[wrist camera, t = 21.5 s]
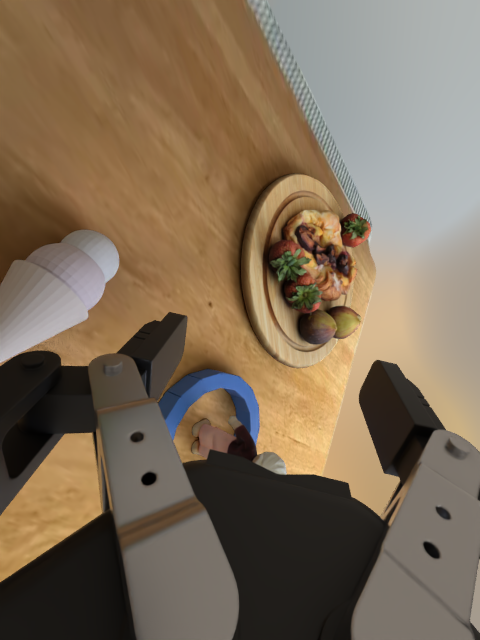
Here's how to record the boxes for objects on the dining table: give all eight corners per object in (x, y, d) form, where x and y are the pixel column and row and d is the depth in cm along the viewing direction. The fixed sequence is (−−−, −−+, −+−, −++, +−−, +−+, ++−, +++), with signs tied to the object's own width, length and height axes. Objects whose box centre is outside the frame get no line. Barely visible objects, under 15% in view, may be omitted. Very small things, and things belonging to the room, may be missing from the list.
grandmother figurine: (215, 454, 38) (296, 501, 29) (191, 468, 35) (271, 526, 26) (210, 398, 37) (292, 430, 28) (185, 409, 34) (266, 448, 25)
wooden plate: (325, 162, 54) (370, 145, 48) (354, 312, 66) (393, 313, 60) (203, 203, 35) (253, 183, 29) (275, 405, 46) (321, 420, 41)
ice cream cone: (-72, 382, 19) (82, 249, 28) (10, 425, 20) (138, 279, 28) (-148, 345, 14) (68, 196, 23) (-37, 402, 14) (137, 233, 23)
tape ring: (165, 359, 32) (179, 363, 30) (254, 379, 43) (269, 382, 41) (124, 508, 30) (136, 523, 28) (230, 489, 40) (244, 499, 38)
